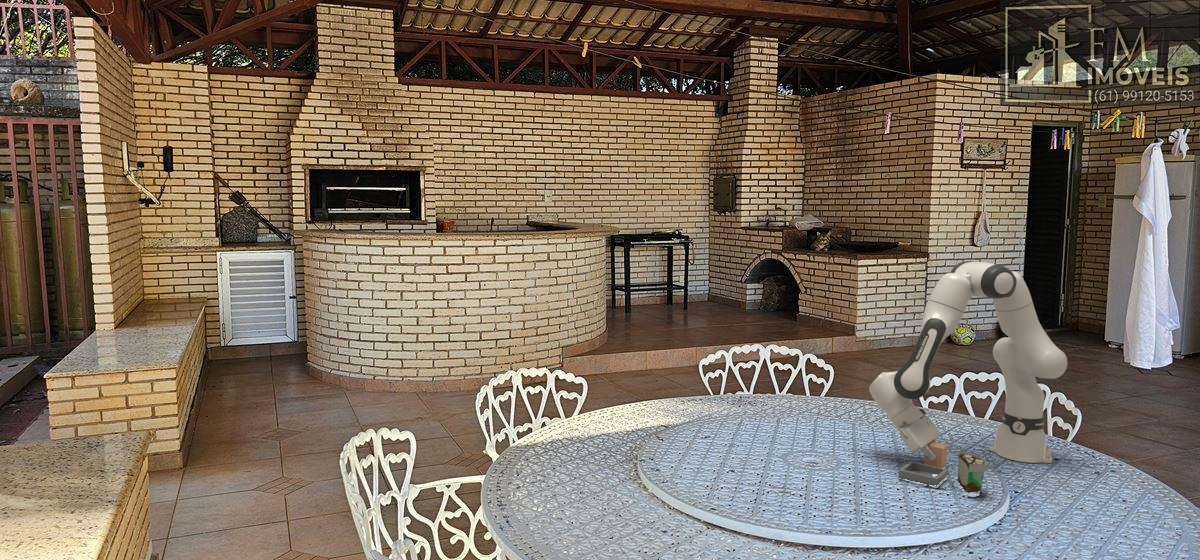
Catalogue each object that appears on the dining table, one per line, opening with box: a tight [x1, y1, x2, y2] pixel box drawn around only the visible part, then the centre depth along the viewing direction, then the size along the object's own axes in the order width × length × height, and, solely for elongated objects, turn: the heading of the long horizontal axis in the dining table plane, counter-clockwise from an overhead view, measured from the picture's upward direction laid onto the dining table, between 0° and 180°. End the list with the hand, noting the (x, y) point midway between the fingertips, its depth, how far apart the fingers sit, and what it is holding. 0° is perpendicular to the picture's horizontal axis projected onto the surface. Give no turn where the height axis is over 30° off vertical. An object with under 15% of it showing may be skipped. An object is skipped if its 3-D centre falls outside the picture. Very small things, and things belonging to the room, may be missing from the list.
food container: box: [957, 451, 988, 493], centre depth 221 cm, size 12×6×10 cm, turn 168°
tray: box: [897, 460, 949, 486], centre depth 230 cm, size 11×11×3 cm
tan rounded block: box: [923, 442, 948, 468], centre depth 239 cm, size 5×5×8 cm
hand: (937, 456), depth 239 cm, fingers closed on tan rounded block, 5 cm apart
